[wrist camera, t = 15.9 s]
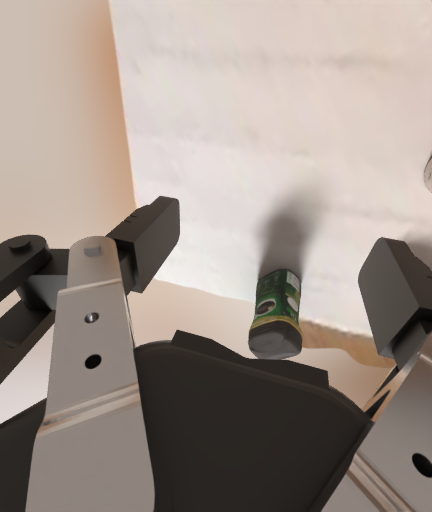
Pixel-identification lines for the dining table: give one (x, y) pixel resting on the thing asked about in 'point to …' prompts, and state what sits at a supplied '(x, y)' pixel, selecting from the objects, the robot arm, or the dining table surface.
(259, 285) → the coffee jar
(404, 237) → the dining table surface
